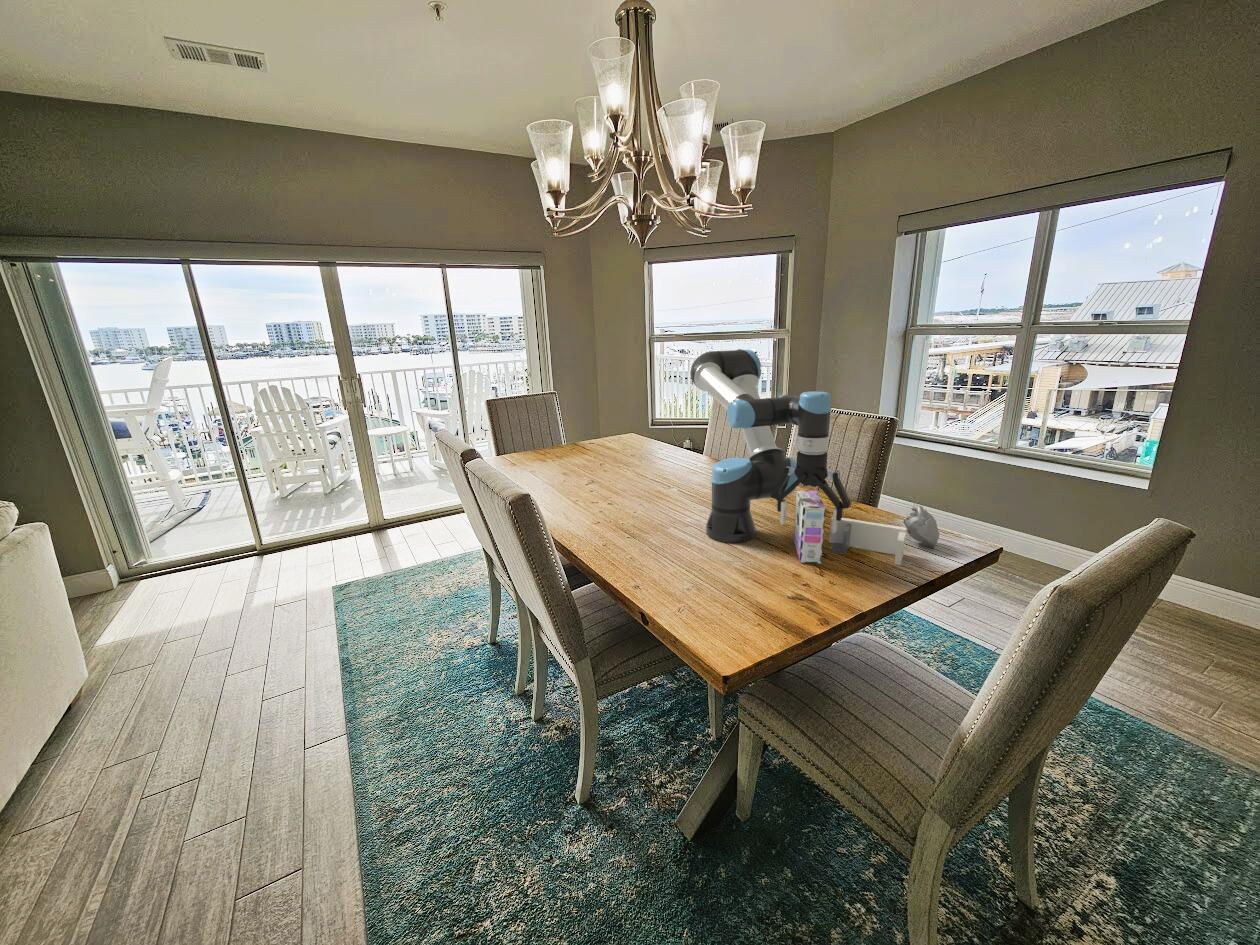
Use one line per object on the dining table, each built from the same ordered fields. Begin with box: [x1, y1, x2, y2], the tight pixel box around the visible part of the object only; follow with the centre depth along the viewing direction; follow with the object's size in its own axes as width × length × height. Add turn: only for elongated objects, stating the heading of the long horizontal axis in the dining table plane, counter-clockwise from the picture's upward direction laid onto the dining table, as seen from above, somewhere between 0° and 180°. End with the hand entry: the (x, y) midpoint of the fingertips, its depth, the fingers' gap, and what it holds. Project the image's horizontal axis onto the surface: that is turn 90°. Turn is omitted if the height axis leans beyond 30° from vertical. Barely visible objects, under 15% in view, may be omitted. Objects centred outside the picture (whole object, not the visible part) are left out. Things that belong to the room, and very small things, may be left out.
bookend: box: [829, 523, 851, 555], centre depth 135 cm, size 4×6×7 cm, turn 147°
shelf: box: [828, 515, 907, 566], centre depth 133 cm, size 19×8×8 cm, turn 57°
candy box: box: [793, 490, 827, 565], centre depth 133 cm, size 14×6×16 cm, turn 168°
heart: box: [902, 504, 940, 548], centre depth 134 cm, size 10×10×12 cm
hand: (807, 526), depth 131 cm, fingers open, 13 cm apart
